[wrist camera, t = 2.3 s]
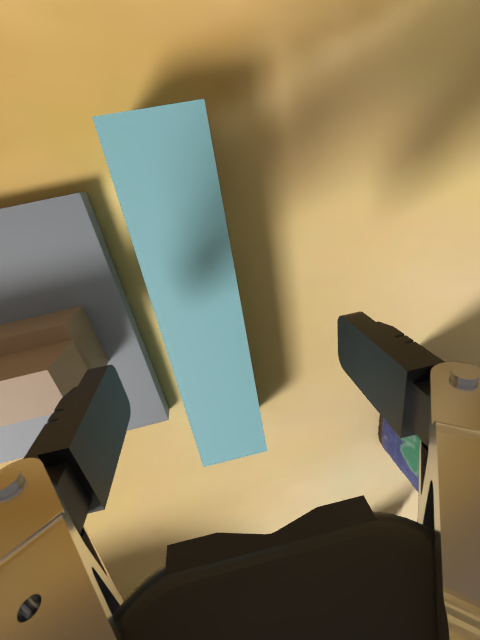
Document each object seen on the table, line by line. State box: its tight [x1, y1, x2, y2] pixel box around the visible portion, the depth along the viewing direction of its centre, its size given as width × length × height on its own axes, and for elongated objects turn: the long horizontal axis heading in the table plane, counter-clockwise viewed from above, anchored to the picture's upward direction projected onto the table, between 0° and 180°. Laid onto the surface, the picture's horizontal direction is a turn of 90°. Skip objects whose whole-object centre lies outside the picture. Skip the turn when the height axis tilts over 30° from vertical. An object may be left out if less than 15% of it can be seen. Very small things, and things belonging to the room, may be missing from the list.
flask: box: [378, 414, 421, 493], centre depth 18 cm, size 9×3×11 cm, turn 1°
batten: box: [92, 99, 267, 467], centre depth 16 cm, size 4×18×4 cm, turn 10°
